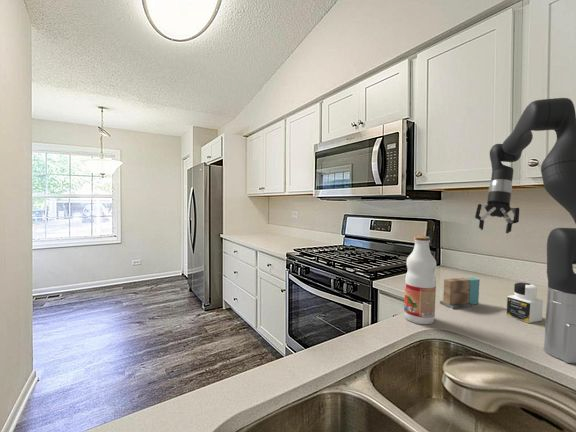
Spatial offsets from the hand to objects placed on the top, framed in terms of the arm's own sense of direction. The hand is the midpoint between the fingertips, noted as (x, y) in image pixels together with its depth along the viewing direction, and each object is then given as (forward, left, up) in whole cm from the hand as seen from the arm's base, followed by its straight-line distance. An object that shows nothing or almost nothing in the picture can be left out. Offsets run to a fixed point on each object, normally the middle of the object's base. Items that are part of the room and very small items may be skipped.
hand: (494, 231), depth 116 cm
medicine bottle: (-18, -3, -29) cm, 34 cm away
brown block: (-10, +16, -28) cm, 34 cm away
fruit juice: (-29, +33, -29) cm, 52 cm away
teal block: (-7, +10, -28) cm, 30 cm away
